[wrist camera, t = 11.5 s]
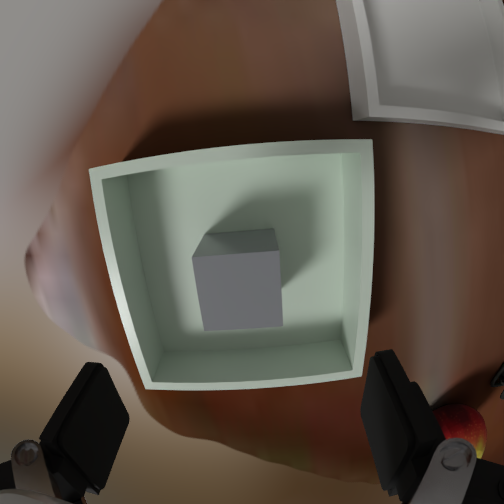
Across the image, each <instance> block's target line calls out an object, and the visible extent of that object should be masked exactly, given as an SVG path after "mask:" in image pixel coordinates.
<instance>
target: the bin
mask: <svg viewBox="0 0 504 504" xmlns="http://www.w3.org/2000/svg"><path fill="white" fill-rule="evenodd" d="M89 173H90V180H91V187H92V193H93V200H94V206H95V211H96V217H97V222H98V227H99V232H100V237H101V242H102V246H103V251H104V255H105V260H106V264H107V268H108V272H109V276H110V280H111V284H112V288H113V291H114V295H115V299H116V302H117V306H118V309H119V313H120V316H121V319H122V323H123V326H124V329H125V332H126V335H127V338H128V341H129V345H130V347H131V350H132V353H133V356H134V359H135V362H136V365H137V367H138V370H139V373H140V376H141V378H142V381H143V383H144V386H145V389H158V390H232V389H253V388H269V387H281V386H292V385H302V384H311V383H319V382H327V381H334V380H341V379H348V378H354V377H360V376H362V370H363V363H364V356H365V348H366V340H367V332H368V323H369V312H370V301H371V289H372V273H373V254H374V162H373V142H372V139H337V140H304V141H285V142H270V143H257V144H245V145H235V146H225V147H216V148H208V149H200V150H192V151H185V152H178V153H171V154H165V155H159V156H153V157H147V158H141V159H136V160H130V161H125V162H120V163H115V164H110V165H105V166H100V167H96V168H91V169H89ZM270 228H274V230H275V235H276V239H277V243H278V247H279V253H280V271H281V290H282V311H283V326H280V327H267V328H253V329H237V330H218V331H204V327H203V322H202V317H201V311H200V305H199V300H198V294H197V288H196V282H195V276H194V270H193V263H192V256H193V254H194V252H195V250H196V248H197V246H198V245H199V243H200V241H201V239H202V237H203V236H204V234H209V233H220V232H232V231H245V230H257V229H270Z"/></svg>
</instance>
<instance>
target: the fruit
mask: <svg viewBox="0 0 504 504" xmlns="http://www.w3.org/2000/svg"><path fill="white" fill-rule="evenodd" d="M433 413H434V415H435V417H436V419H437V421H438V423H439V425H440V427H441V429H442V431H443V433H444V435H445V437H446V440H447V439H449V438H462V439H465V440H467V441H469V442H470V443H471V444H472V445H473V446H474V448H475V449H476V453H477V458H480V459H481V456H482V454H483V452H484V448H485V444H486V440H487V429H486V426H485V422H484V419H483V417H482V416H481V414H480V413H479V412H478V411H477V410H475V409H474V408H472V407H469V406H467V405H464V404H449V405H445V406H442V407H440V408H438V409H436V410H434V411H433Z"/></svg>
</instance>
